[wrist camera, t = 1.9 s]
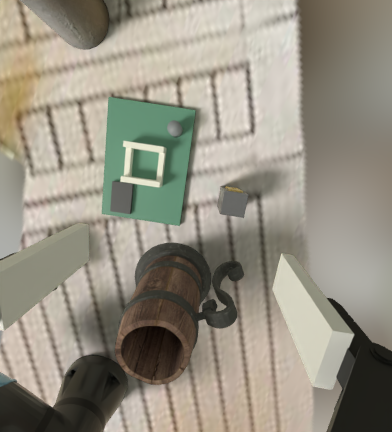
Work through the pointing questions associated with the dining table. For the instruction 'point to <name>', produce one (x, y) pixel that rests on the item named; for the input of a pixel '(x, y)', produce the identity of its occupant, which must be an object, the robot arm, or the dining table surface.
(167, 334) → the tankard
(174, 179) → the board
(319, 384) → the robot arm
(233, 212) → the plug
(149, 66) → the dining table surface
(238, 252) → the dining table surface
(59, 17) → the pillar candle
